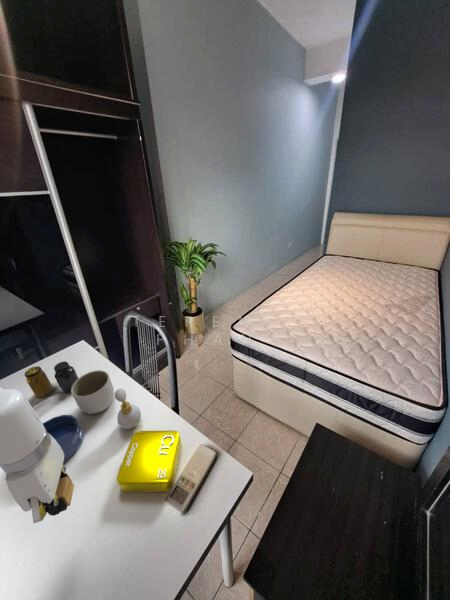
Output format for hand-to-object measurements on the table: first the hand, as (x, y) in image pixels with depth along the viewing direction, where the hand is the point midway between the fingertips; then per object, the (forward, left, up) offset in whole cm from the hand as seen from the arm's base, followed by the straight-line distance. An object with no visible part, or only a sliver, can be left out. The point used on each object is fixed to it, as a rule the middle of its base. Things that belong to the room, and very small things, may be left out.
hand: (61, 497), depth 53 cm
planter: (-1, +39, -15) cm, 41 cm away
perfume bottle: (+10, +27, -15) cm, 32 cm away
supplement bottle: (-13, +52, -15) cm, 55 cm away
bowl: (-12, +26, -15) cm, 32 cm away
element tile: (+17, +10, -15) cm, 25 cm away
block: (0, 0, 0) cm, 0 cm away
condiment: (-22, +53, -15) cm, 59 cm away
